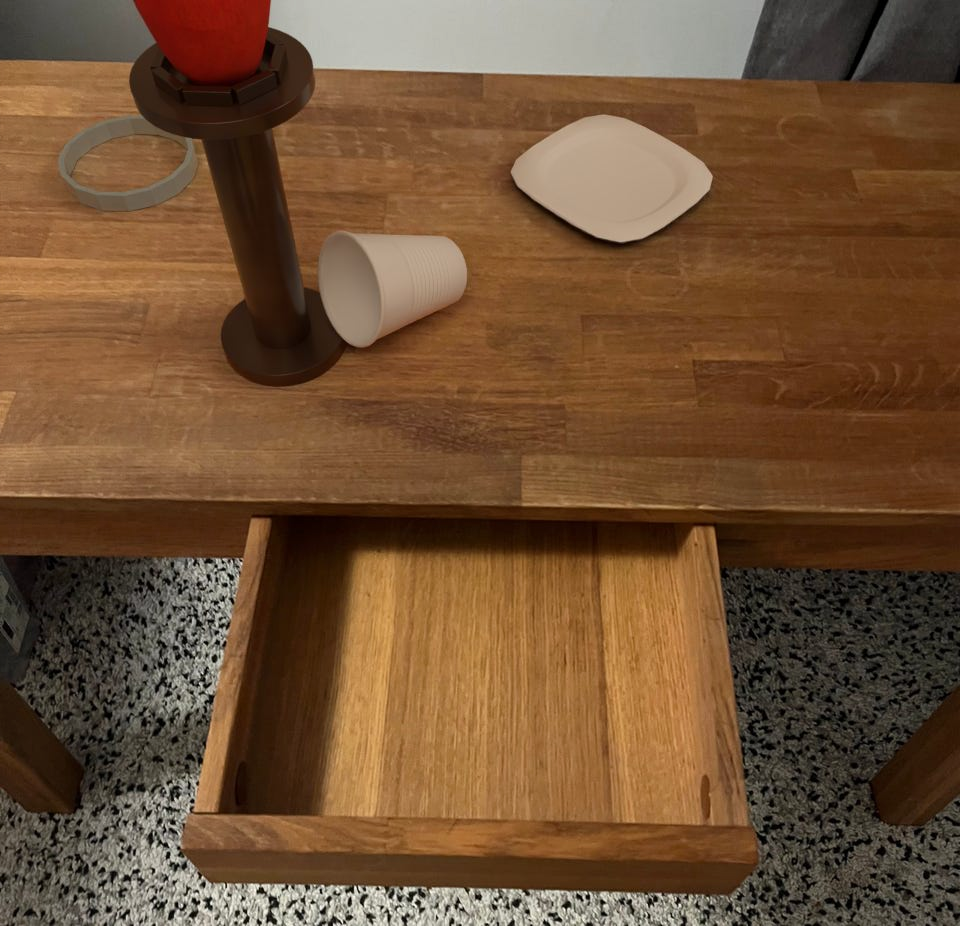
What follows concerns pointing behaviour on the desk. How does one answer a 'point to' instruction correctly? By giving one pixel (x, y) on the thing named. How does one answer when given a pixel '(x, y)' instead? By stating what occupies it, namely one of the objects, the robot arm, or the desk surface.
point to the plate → (612, 178)
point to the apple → (209, 36)
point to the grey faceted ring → (133, 197)
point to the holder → (251, 203)
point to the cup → (386, 281)
